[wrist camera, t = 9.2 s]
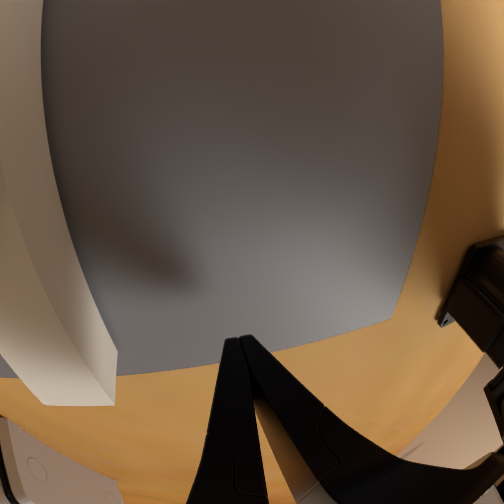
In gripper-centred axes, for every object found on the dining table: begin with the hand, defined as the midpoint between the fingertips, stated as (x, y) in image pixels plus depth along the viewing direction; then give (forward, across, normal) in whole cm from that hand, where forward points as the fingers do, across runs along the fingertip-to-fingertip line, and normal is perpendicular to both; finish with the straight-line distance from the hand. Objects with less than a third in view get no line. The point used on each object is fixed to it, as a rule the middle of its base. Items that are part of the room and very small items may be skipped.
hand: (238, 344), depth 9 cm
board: (+2, +2, -7) cm, 8 cm away
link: (+1, +6, -7) cm, 9 cm away
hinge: (+3, +17, +18) cm, 25 cm away
